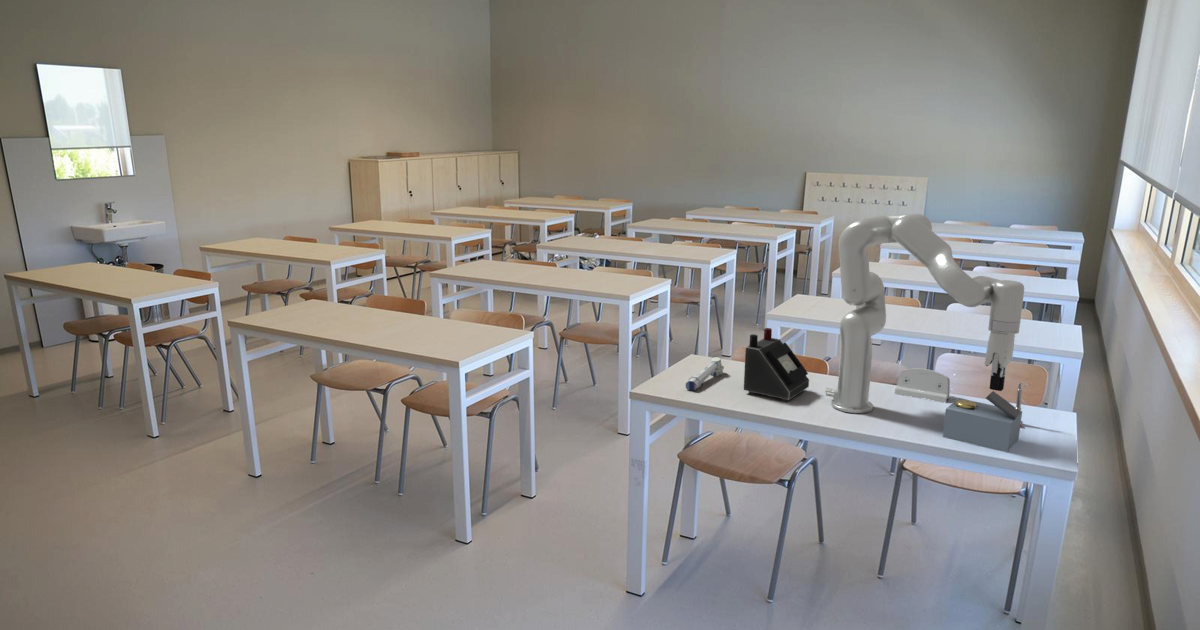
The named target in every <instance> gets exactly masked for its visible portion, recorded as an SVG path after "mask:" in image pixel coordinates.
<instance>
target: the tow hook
mask: <svg viewBox="0 0 1200 630" xmlns="http://www.w3.org/2000/svg"><path fill="white" fill-rule="evenodd" d="M1022 384H1023V383H1022V382H1018V389H1017V390H1016V391H1017V392H1016V402H1015V403H1016V404H1015V405H1016V406H1014V407H1015V408H1017V409H1018V410H1019V411H1022V396H1023V395H1022V393H1023V389H1022ZM1020 428H1022V424H1021V425H1020Z"/></svg>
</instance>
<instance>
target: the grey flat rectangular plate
mask: <svg viewBox="0 0 1200 630" xmlns="http://www.w3.org/2000/svg"><path fill="white" fill-rule="evenodd" d="M985 400H987V401H988V402H990V403H991V405H994V406H996V407H998V408H999V409H1000V410H1002V411H1003V412H1004V413H1006V414H1007V415H1008V416H1009V417H1011V418H1012V419H1013V420H1015V419H1016V418H1017V417H1018V415H1019V414H1020V413H1021V411H1022V410H1021V411H1019V410H1018V409H1017V408H1015V407H1016V406H1014V405H1013V404H1011V403H1010V402H1009V401H1007V400H1006V399H1005V398H1004V397H1002V396H1001V395H999V394H998V393H997V392H996V391H995V390H992V391H991V392H990V393H989V394H988V395H987V396H986V397H985Z"/></svg>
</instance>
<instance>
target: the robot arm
mask: <svg viewBox="0 0 1200 630" xmlns="http://www.w3.org/2000/svg"><path fill="white" fill-rule="evenodd" d="M890 243H892V244H893V243H895V244H896V243H897V244H899V245H900V246H901V247H903V248H904V249H905V250H906V251H907V252H908V253H910V254H911V255H912V256H913V257H914V258H916V259H917V260H918V261H919V262H920V263H921V264H922V265H924V267H926V269H927V270H928V272H929V273H930V275H931V276H932V277H933V279H934V281H935V282H936V283H937V285H938V286H939V287H940V288H941V289H942V290H943V291H944V292H945V293H947V294H948V295H949V296H950V297H951V298H952V299H953V300H955V302H957V303H959V304H960V305H962V306H964V307H967V308H976V307H978V306H981V305H983V304H988V303H990V310H989V311H990V312H989V320H988V327H987V328H988V331H989V332H990V334H989V337H988V341H987V347H986V353H985V358H984V359H985V360H984V366H986V367H989V366H990V365H991V371H990V380H989V389H990V390H992V391H996V392H997V391H998V392H1002V391H1003V390H1004V388H1005V380H1006V379H1005V378H1006V376H1005V375H1006V370H1007V367H1008V365H1010V364H1011V363H1012V360H1013V354H1014V346H1015V338H1016V335H1017V334H1019V333H1020V328H1021V319H1022V310H1023V304H1024V303H1023V302H1024V297H1025V296H1024V294H1025V285H1024V284H1023V283H1022V282H1020V281H1016V280H1006V279H1005V280H1004V279H1003V280H1001V279H997V278H993V277H990V276H983V275H978V276H974V277H971V276H970V275H969V274H967V272H965V271H964V270H963V269H962V268H961V267H960V266H959V265H958V264H957V262H956V261H955V259H954V257H953V251H952V248H951V246H950V245H949V244H948V243H947V242H946V241H945V240H943V239H942V238H941V236H939V235H937V234H936V233H935V232H934V231H933V225H932V222H931V220H930V219H929V218H928V217H927V216H926V215H923V214H921V213H910V214H894V215H890V214H889V215H878V216H877V215H876V216H873V217H864V218H861V219H859V220H856V221H853V222H852V223H850V224H848V226H847V227H845V229H844V230H843V231H842V232H841V234H840V237H839V239H838V256H839V266H840V267H839V270H840V271H839V272H840V286H841V287H840V288H841V296H842V299H843V301H844V302H845V303H846V304H847V305H850V306H855V309H853V310H851V311H849V312H847V313H846V314H845V315H844V316H842V318H841V321H840V323H839V338H840V339H839V340H840V341H839V342H840V348H839V349H840V353H839V367H838V381H837V389H832V388H828V387H827V388H826V389H825V395H826V397H832V398H833V399H831V407H833V408H834V409H836V410H838V411H842V412H845V413H849V414H851V413H852V414H864V413H869V412H871V411H873V409H874V404H873V403H872V402H871V401H869V398H870V397H869V396H870V386H871V385H870V384H871V376H872V375H871V374H872V360H873V345H872V337H873V336H874V335H877V334H878V333H880V332H881V331H882V330H883V329H884V328H885V325H886V322H887V313H886V312H887V311H886V310H887V309H886V293H885V285H884V283H883V280H882V278H881V277H880V275H878V274H877V273H875V272H873V271H870V260H869V256H868V252H867V248H869V247H871V246H877V245H880V244H890Z"/></svg>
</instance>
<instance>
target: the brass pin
mask: <svg viewBox="0 0 1200 630" xmlns="http://www.w3.org/2000/svg"><path fill="white" fill-rule="evenodd" d="M972 401H973V400H970V401H969V399H965V400H958V401H957V402H956V406H957V407H960V408H963V409H969V410H972V409H975V408H976V403H975V402H976V401H975V402H972Z"/></svg>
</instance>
